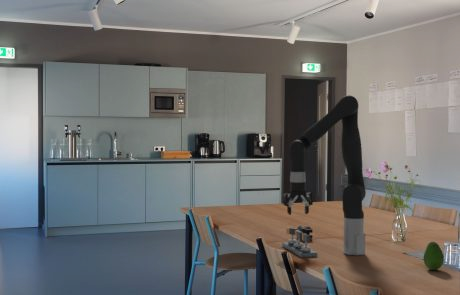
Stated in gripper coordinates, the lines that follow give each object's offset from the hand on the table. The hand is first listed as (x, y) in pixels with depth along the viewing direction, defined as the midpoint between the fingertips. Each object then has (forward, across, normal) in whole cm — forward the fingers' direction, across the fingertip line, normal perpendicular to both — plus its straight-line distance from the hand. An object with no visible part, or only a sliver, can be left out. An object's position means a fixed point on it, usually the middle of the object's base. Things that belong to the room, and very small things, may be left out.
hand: (298, 214), depth 271 cm
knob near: (+15, 0, -11) cm, 19 cm away
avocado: (+19, +42, -49) cm, 67 cm away
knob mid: (+15, 0, -2) cm, 16 cm away
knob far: (+15, -1, +7) cm, 17 cm away
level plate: (+18, -1, -2) cm, 18 cm away
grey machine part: (+18, +13, +27) cm, 35 cm away
